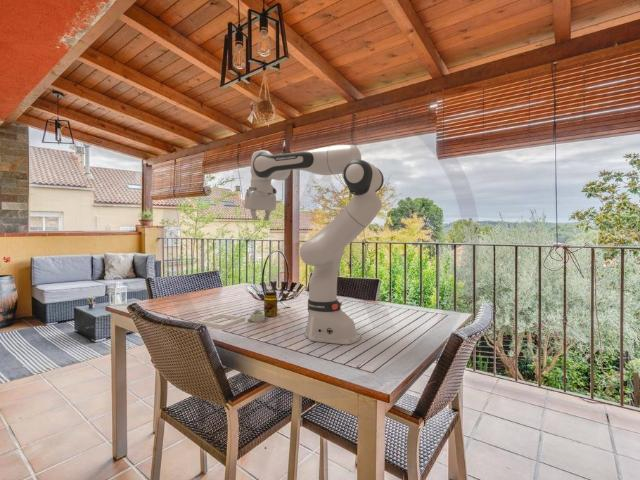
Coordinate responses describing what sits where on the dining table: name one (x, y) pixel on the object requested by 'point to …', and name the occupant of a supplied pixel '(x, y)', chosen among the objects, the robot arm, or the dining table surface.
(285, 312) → the dining table surface
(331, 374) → the dining table surface
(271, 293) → the condiment
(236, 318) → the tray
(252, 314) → the ring
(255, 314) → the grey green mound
